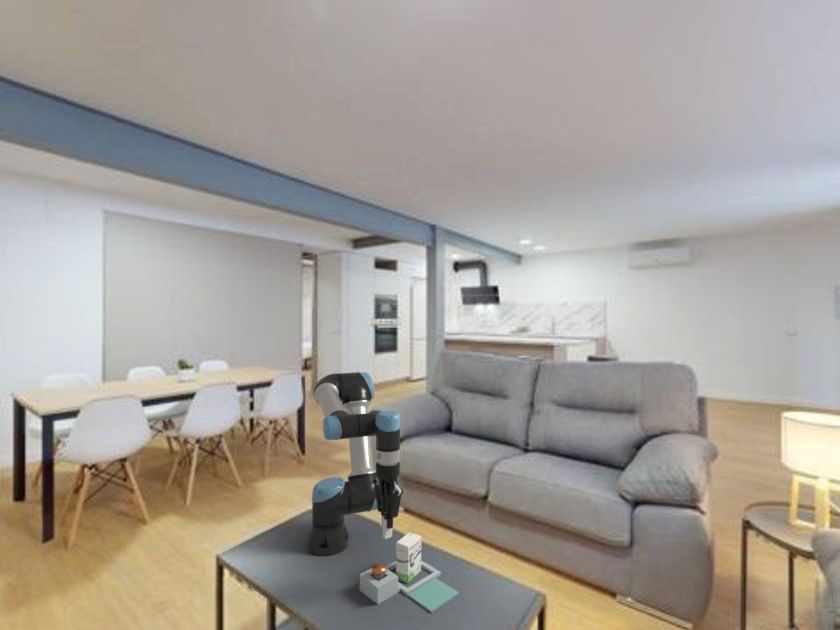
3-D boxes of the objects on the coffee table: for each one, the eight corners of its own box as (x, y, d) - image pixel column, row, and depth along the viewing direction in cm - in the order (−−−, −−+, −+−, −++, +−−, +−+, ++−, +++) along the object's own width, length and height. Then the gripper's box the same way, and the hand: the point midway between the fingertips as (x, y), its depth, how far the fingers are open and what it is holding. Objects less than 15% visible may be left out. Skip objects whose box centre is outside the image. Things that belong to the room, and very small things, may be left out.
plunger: (368, 586, 133) (368, 567, 133) (380, 580, 136) (380, 561, 136) (377, 593, 130) (377, 573, 130) (388, 586, 133) (389, 567, 133)
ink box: (407, 584, 136) (408, 547, 136) (395, 579, 139) (395, 542, 139) (421, 570, 144) (421, 535, 144) (409, 565, 146) (409, 531, 146)
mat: (408, 596, 130) (408, 594, 130) (435, 579, 139) (435, 577, 139) (431, 613, 123) (431, 611, 123) (459, 594, 132) (459, 592, 132)
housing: (354, 585, 135) (354, 570, 135) (410, 556, 152) (410, 542, 152) (384, 609, 125) (384, 592, 125) (440, 575, 141) (440, 560, 141)
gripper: (366, 459, 137) (365, 533, 137) (391, 470, 127) (390, 549, 127) (384, 454, 142) (384, 525, 142) (410, 464, 132) (409, 541, 132)
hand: (387, 536), depth 135 cm, fingers closed
